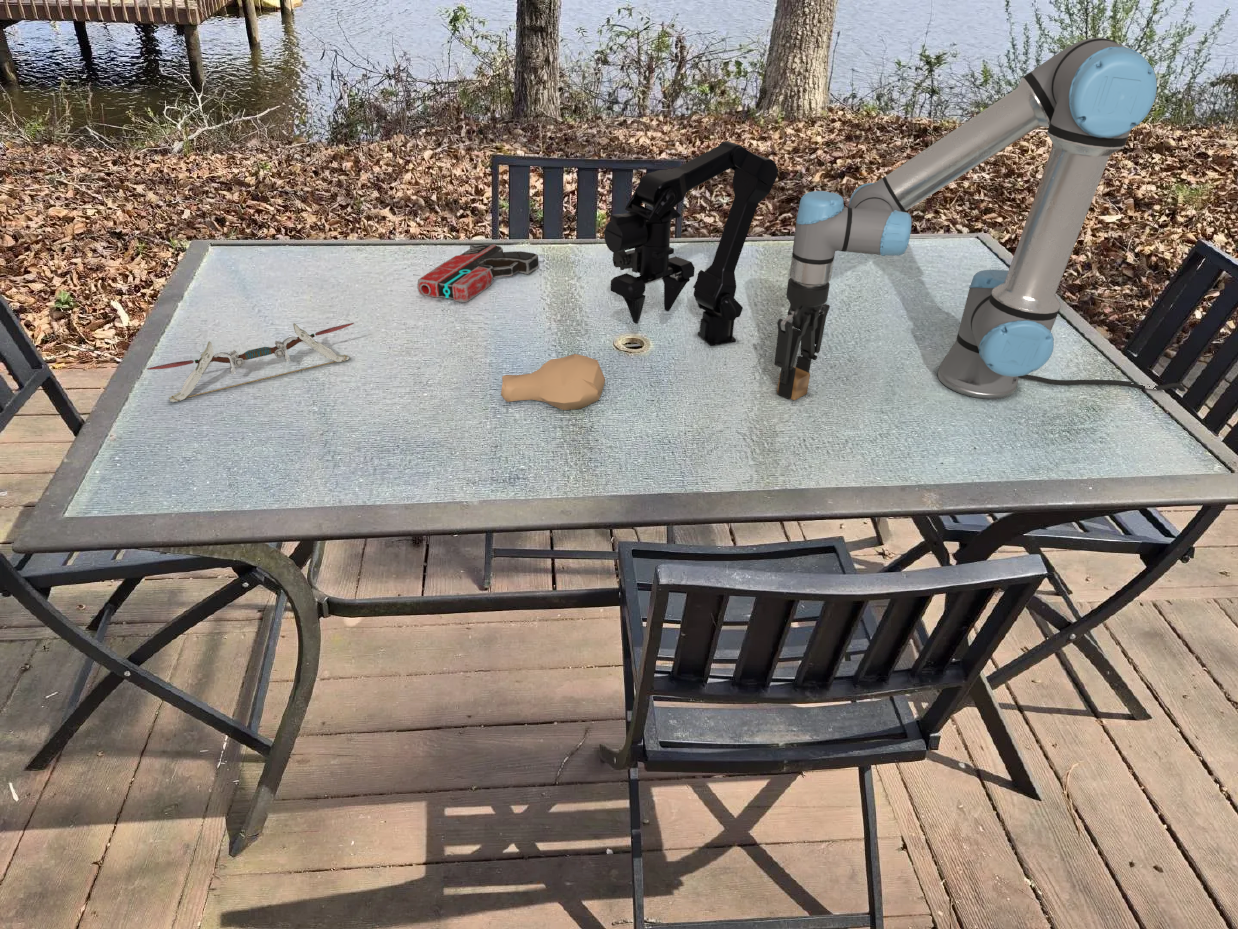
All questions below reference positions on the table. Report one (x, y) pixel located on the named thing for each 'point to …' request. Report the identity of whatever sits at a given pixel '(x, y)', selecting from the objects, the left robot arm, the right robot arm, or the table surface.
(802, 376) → the block
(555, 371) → the squash
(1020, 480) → the table surface
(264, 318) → the table surface
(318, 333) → the bow
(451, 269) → the gun
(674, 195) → the left robot arm
